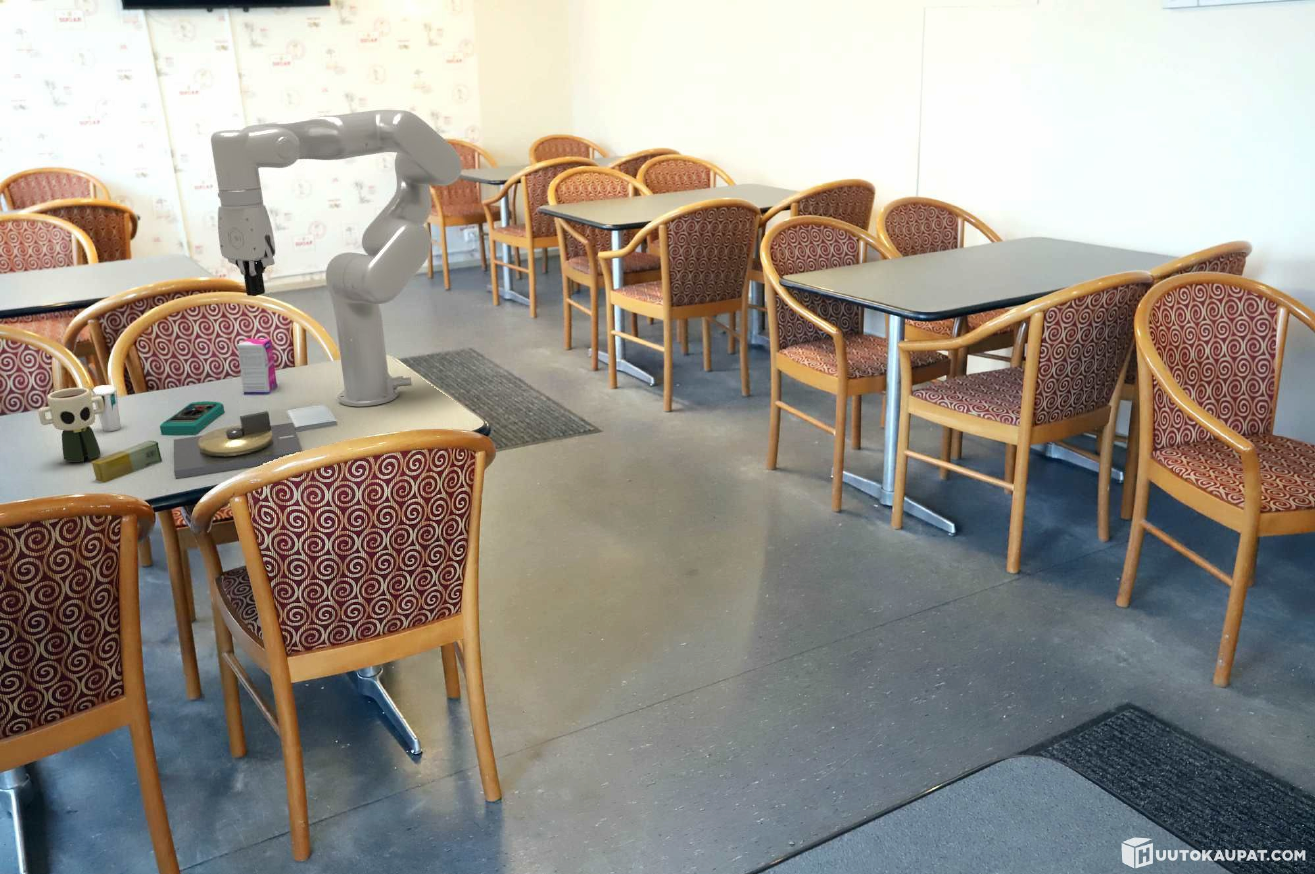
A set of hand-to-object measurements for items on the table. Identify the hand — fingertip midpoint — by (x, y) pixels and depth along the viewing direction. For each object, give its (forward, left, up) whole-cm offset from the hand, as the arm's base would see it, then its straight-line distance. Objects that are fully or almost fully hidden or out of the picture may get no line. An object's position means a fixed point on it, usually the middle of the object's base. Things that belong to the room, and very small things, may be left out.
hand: (256, 294), depth 206 cm
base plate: (+8, +13, -27) cm, 31 cm away
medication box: (+27, +14, -28) cm, 41 cm away
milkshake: (+31, -13, -27) cm, 43 cm away
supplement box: (+1, -27, -27) cm, 38 cm away
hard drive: (-7, -1, -28) cm, 29 cm away
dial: (+8, +13, -25) cm, 30 cm away
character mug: (+35, +3, -27) cm, 44 cm away
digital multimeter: (+15, -10, -28) cm, 33 cm away
